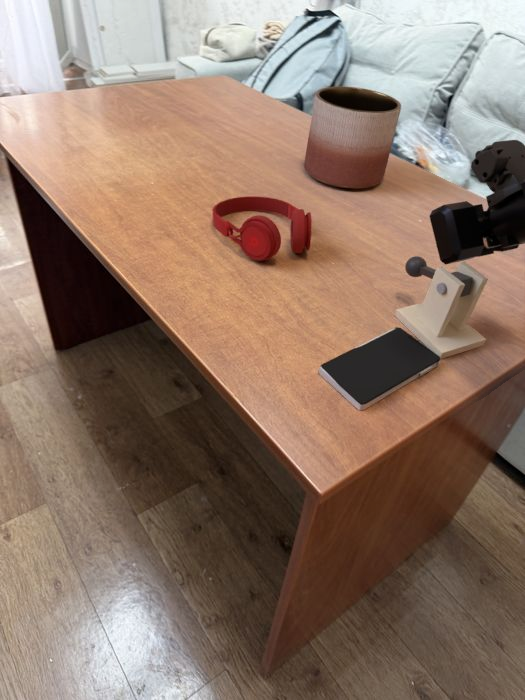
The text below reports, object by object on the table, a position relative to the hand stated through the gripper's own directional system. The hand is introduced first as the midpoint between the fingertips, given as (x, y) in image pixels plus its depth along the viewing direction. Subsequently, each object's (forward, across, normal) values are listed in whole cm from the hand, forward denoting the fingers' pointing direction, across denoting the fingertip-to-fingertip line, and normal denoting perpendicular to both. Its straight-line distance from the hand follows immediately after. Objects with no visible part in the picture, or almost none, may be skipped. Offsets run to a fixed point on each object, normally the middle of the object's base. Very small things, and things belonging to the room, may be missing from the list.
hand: (450, 244), depth 64 cm
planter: (+42, -16, -25) cm, 52 cm away
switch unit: (+6, 0, +11) cm, 13 cm away
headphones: (+29, +13, -12) cm, 34 cm away
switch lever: (+5, 0, +5) cm, 7 cm away
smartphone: (+4, +13, +14) cm, 19 cm away
